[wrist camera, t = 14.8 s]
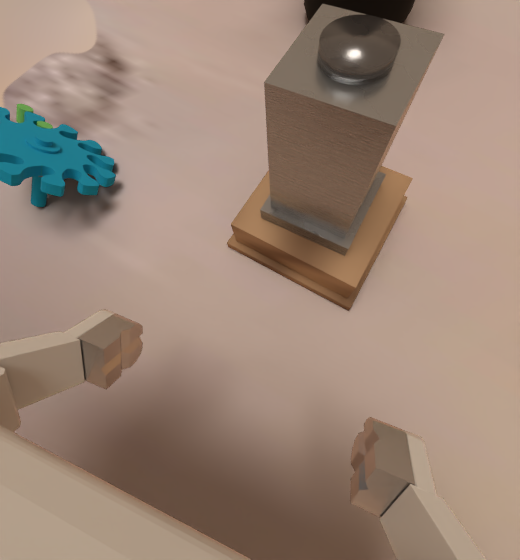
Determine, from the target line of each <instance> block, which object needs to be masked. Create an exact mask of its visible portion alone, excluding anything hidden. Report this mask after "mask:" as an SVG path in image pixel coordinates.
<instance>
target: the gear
mask: <svg viewBox="0 0 520 560" xmlns="http://www.w3.org/2000/svg"><path fill="white" fill-rule="evenodd" d="M17 122H18V123H15V122H12V121H10V112H9V111H8V110H7V109H5V108H2V107H0V181H2V182H4V183H6V184H8V185H10V186H17V185H20V184H21V182H22V181H23V180H24V179H26V178H29V177H32V192H31V204H32V205H34V206H37V207H44V206H46V200H47V194H51V195H55V196H60V197H61V196H63V195H64V189H65V182H64V181H63V180H64V179H66V178H72V179H75V180H77V181H78V187H77V190H78V192H79V193H81V194H83V195H97V193H98V188H99V184H100V185H101V186H104V187H109V186H111V185H113V184H114V181H115V177H116V175H115V174H114V173H113V172H112V170H113V166H114V159H112V158H110V157H107V156H101V150H102V148H101V146H100V145H99V144H98V143H97V142H95V141H92V140H86V141H80V140H77V134H78V132H77V131H76V130H74V129H73V128H71V127H69V126H67V125H64V124H61V125H60V126H59V127H58V128H54V129H53V127H52V125H50V124H49V123H47V122H45V118H44V117H42V116H39V115H37V114H34V113H33V109H32V108H31V107H29V106H27V105H24V104H17ZM86 173H87V174H90V175H92V176H94V177H95V178H96V180H97V181H96V180H94V179H92V178H91V177H90V176H88V175H87V174H86Z"/></svg>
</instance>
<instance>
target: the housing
mask: <svg viewBox="0 0 520 560" xmlns="http://www.w3.org/2000/svg"><path fill="white" fill-rule="evenodd" d="M443 36H444V34H442V33H438V32H434V31H430V30H426V29H422V28H418V27H414V26H410V25H406V24H402V23H398V22H394V21H390V20H386V19H382V18H379V17H376V16H371V15H366V14H362V13H358V12H354V11H350V10H346V9H342V8H338V7H334V6H330V5H326V4H322V5H321V6H320V8H319V9H318V10H317V12H316V13H315V14H314V16H313V17H312V18H311V20H310V21H309V23H308V24H307V25H306V27H305V28H304V29H303V31H302V32H301V33H300V35H299V36H298V37H297V39H296V40H295V41H294V43H293V44H292V46H291V47H290V48H289V50H288V51H287V52H286V54H285V55H284V56H283V58H282V59H281V60H280V62H279V63H278V64H277V66H276V67H275V68H274V70H273V71H272V73H271V74H270V75H269V77H268V78H267V79H266V81H265V82H264V87H265V106H266V125H267V144H268V162H269V181H270V195H269V197H268V198H267V200H266V201H265V203H264V205H263V206H262V208H261V209H260V212H261V218H262V219H264V220H266V221H269V222H271V223H273V224H275V225H277V226H280V227H282V228H284V229H286V230H288V231H291V232H293V233H295V234H297V235H300V236H302V237H304V238H306V239H308V240H311V241H313V242H315V243H317V244H319V245H322V246H324V247H326V248H328V249H330V250H333V251H335V252H337V253H339V254H341V255H344V256H345V255H346V253H347V251H348V249H349V247H350V245H351V243H352V241H353V239H354V237H355V235H356V233H357V231H358V229H359V227H360V225H361V223H362V221H363V219H364V218H365V216H366V214H367V212H368V210H369V208H370V206H371V204H372V202H373V200H374V198H375V196H376V194H377V192H378V190H379V188H380V186H381V184H382V182H383V180H384V178H385V176H386V174H384V173H382V172H379V170H380V168H381V166H382V163H383V161H384V159H385V157H386V155H387V153H388V151H389V149H390V147H391V145H392V143H393V140H394V138H395V136H396V134H397V132H398V130H399V128H400V126H401V124H402V122H403V120H404V117H405V115H406V113H407V111H408V109H409V107H410V105H411V103H412V101H413V99H414V97H415V95H416V92H417V90H418V88H419V86H420V84H421V82H422V80H423V78H424V76H425V74H426V72H427V69H428V67H429V65H430V63H431V61H432V59H433V57H434V55H435V53H436V51H437V49H438V46H439V44H440V42H441V40H442V38H443Z"/></svg>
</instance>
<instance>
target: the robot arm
mask: <svg viewBox="0 0 520 560" xmlns="http://www.w3.org/2000/svg"><path fill="white" fill-rule="evenodd" d="M142 333H143V327H142V325H141V324H139V323H137V322H134V321H132V320H130V319H127V318H125V317H123V316H121V315H118V314H115V313H113V312H111V311H109V310H106V309H104V310H100V311H98V312H97V313H95V314H93V315H92V316H90V317H88V318H87V319H85V320H83V321H82V322H80V323H78V324H77V325H75V326H74V327H72V328H70V329H69V330H67V331H65V332H64V333H63V332H61V331H58V332H53V333H48V334H43V335H38V336H33V337H28V338H24V339H19V340H14V341H9V342H4V343H0V560H252V559H250V558H248V557H246V556H244V555H242V554H240V553H238V552H237V551H235V550H233V549H231V548H229V547H227V546H225V545H223V544H222V543H220V542H218V541H216V540H214V539H212V538H210V537H209V536H207V535H205V534H203V533H201V532H199V531H197V530H195V529H194V528H192V527H190V526H188V525H186V524H184V523H182V522H180V521H179V520H177V519H175V518H173V517H171V516H169V515H167V514H166V513H164V512H162V511H160V510H158V509H156V508H154V507H152V506H151V505H149V504H147V503H145V502H143V501H141V500H139V499H137V498H136V497H134V496H132V495H130V494H128V493H126V492H124V491H123V490H121V489H119V488H117V487H115V486H113V485H111V484H109V483H108V482H106V481H104V480H102V479H100V478H98V477H96V476H94V475H93V474H91V473H89V472H87V471H85V470H83V469H81V468H79V467H78V466H76V465H74V464H72V463H70V462H68V461H66V460H64V459H63V458H61V457H59V456H57V455H55V454H53V453H51V452H50V451H48V450H46V449H44V448H42V447H40V446H38V445H36V444H35V443H33V442H31V441H29V440H27V439H25V438H23V437H21V436H20V435H18V434H16V433H14V431H15V430H16V429H18V428H19V427H20V424H21V420H20V417H19V413H18V410H19V409H21V408H23V407H26V406H28V405H31V404H33V403H35V402H38V401H40V400H43V399H45V398H47V397H50V396H52V395H55V394H57V393H59V392H62V391H64V390H67V389H69V388H71V387H74V386H76V385H79V384H81V383H83V382H85V381H87V382H90V383H92V384H94V385H97V386H99V387H101V388H104V389H106V390H107V389H108V388H109V387H110V386H111V385H112V384H113V383H114V382H115V381H116V380H117V379H118V378H119V377H120V376H121V373H122V370H123V369H126V368H129V367H131V366H132V365H133V364H134V363H135V362H136V361H137V359H138V357H139V356H140V354H141V351H142V345H143V343H142V341H141V339H140V337H139V336H140V335H141V334H142ZM351 465H352V467H353V469H354V471H355V473H354V474H353V476H352V478H351V484H350V503H351V504H353V505H355V506H357V507H359V508H361V509H363V510H366V511H368V512H370V513H372V514H374V515H376V516H378V517H380V522H381V524H382V526H383V529H384V531H385V533H386V536H387V538H388V540H389V543H390V545H391V547H392V550H393V552H394V554H395V557H396V559H397V560H486V558H485V557H484V555H483V554H482V553H481V551H480V550H479V548H478V547H477V545H476V544H475V543H474V541H473V540H472V538H471V537H470V536H469V534H468V533H467V531H466V530H465V529H464V527H463V526H462V524H461V523H460V521H459V520H458V519H457V517H456V516H455V514H454V513H453V512H452V510H451V509H450V507H449V506H448V505H447V503H446V502H445V500H444V499H443V498H441V497H439V496H437V492H436V488H435V484H434V480H433V476H432V472H431V468H430V464H429V459H428V455H427V451H426V447H425V443H424V440H423V439H422V437H420V436H418V435H415V434H413V433H410V432H407V431H405V430H402V429H400V428H397V427H395V426H392V425H390V424H387V423H385V422H382V421H380V420H377V419H374V418H372V417H369V418H368V419H367V420H366V422H365V423H364V431H363V432H360V433H358V435H357V437H356V438H355V441H354V444H353V447H352V453H351Z"/></svg>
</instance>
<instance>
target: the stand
mask: <svg viewBox="0 0 520 560" xmlns="http://www.w3.org/2000/svg"><path fill="white" fill-rule="evenodd" d="M379 172H382V173H384V174H386V176H385V178H384V180H383V182H382V184H381V186H380V188H379V190H378V192H377V194H376V196H375V198H374V200H373V202H372V204H371V206H370V208H369V210H368V212H367V214H366V216H365V218H364V219H363V221H362V223H361V225H360V227H359V229H358V231H357V233H356V235H355V237H354V239H353V241H352V243H351V245H350V247H349V249H348V251H347V253H346V255H345V256H344V255H341V254H339V253H337V252H335V251H333V250H330V249H328V248H326V247H324V246H322V245H319V244H317V243H315V242H313V241H311V240H308V239H306V238H304V237H302V236H300V235H297V234H295V233H293V232H291V231H288V230H286V229H284V228H282V227H280V226H277V225H275V224H273V223H271V222H269V221H266V220H264V219H262V218H261V212H260V209H261V208H262V206H263V205H264V203H265V201H266V200H267V198H268V197H269V195H270V181H269V171H268V172H267V173H266V175H265V176H264V178H263V179H262V181H261V182H260V183H259V185H258V186H257V188H256V189H255V191H254V192H253V193H252V195H251V196H250V198H249V199H248V201H247V202H246V203H245V205H244V206H243V208H242V209H241V211H240V212H239V213H238V215H237V216H236V218H235V219H234V220H233V222H232V223H231V226H232V229H233V232H234V234H233V235H232V236H231V238H230V239H229V241H228V242H227V244H228V247H230V248H232V249H234V250H236V251H238V252H240V253H241V254H243V255H245V256H247V257H249V258H251V259H253V260H255V261H256V262H258V263H260V264H262V265H264V266H266V267H268V268H270V269H271V270H273V271H275V272H277V273H279V274H281V275H283V276H285V277H286V278H288V279H290V280H292V281H294V282H296V283H298V284H300V285H301V286H303V287H305V288H307V289H309V290H311V291H313V292H315V293H316V294H318V295H320V296H322V297H324V298H326V299H328V300H330V301H331V302H333V303H335V304H337V305H339V306H341V307H343V308H345V309H346V310H349V309H350V308H351V306H352V304H353V302H354V300H355V298H356V296H357V295H358V293H359V291H360V289H361V287H362V285H363V283H364V281H365V279H366V277H367V275H368V273H369V271H370V269H371V267H372V265H373V263H374V261H375V260H376V258H377V256H378V254H379V252H380V250H381V248H382V246H383V244H384V242H385V240H386V238H387V236H388V234H389V232H390V230H391V228H392V227H393V225H394V223H395V221H396V219H397V217H398V215H399V213H400V211H401V209H402V207H403V205H404V203H405V201H406V199H407V197H406V196H404V194H405V192H406V190H407V188H408V186H409V185H410V183H411V181H412V179H413V178H411V177H408V176H405V175H403V174H400V173H398V172H395V171H393V170H390V169H388V168H385V167H383V166H381V168H380V170H379Z"/></svg>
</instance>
